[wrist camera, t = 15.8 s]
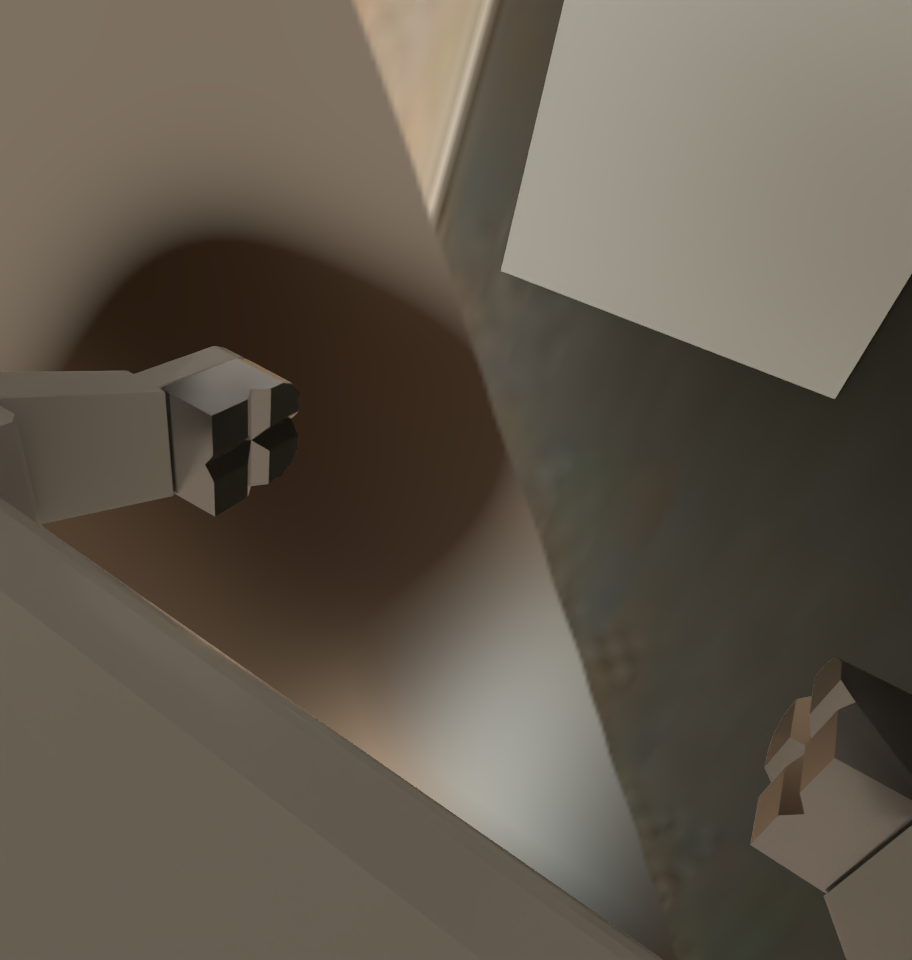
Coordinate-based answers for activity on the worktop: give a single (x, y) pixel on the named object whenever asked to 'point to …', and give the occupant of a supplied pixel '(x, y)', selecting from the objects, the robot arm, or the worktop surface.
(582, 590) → the worktop surface
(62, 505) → the robot arm
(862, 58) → the mat
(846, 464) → the worktop surface
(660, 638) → the worktop surface
